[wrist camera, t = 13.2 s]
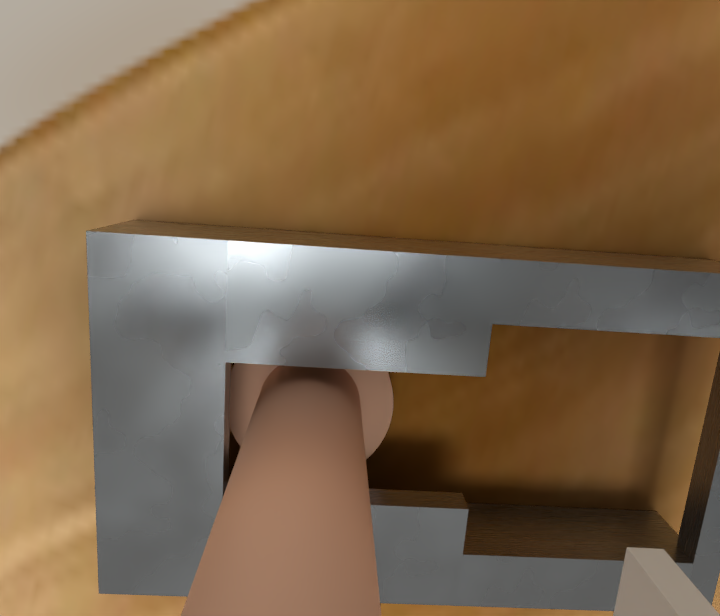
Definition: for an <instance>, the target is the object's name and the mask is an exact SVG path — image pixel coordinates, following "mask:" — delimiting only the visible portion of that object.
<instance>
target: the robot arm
mask: <svg viewBox="0 0 720 616" xmlns="http://www.w3.org/2000/svg"><path fill="white" fill-rule="evenodd" d="M613 616H720V615H719V613H718V612H717V611H716V610H715V609H714V608H713V606H712V605H711V604H710V603H709V602H708V601H707V599H706V598H705V597H704V596H703V595H702V593H701V592H700V591H699V590H698V589H697V588H696V586H695V585H694V584H693V583H692V582H691V581H690V579H689V578H688V577H687V576H686V575H685V574H684V572H683V571H682V570H681V569H680V568H679V566H678V565H677V564H676V563H675V562H674V561H673V559H672V558H671V557H670V556H669V555H668V554H667V552H666V551H665V550H664V549H654V548H633V547H627V549H626V554H625V559H624V564H623V569H622V574H621V579H620V584H619V589H618V594H617V599H616V604H615V609H614V614H613Z"/></svg>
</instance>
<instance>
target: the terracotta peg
mask: <svg viewBox="0 0 720 616" xmlns="http://www.w3.org/2000/svg"><path fill="white" fill-rule="evenodd" d="M392 413H393V390H392V385H391V381H390V377H389V373H388V371H370V370H353V369H335V368H317V367H299V366H281V365H263V364H245V363H235V365H234V367H233V369H232V371H231V390H230V429H231V431H232V433H233V435H234V437H235V439H236V441H237V442H238V444H239V445H240V450H239V453H238V456H237V459H236V462H235V464H234V467H233V470H232V473H231V476H230V479H229V481H228V484H227V487H226V490H225V493H224V495H223V498H222V501H221V504H220V507H219V510H218V512H217V515H216V518H215V521H214V524H213V526H212V529H211V532H210V535H209V538H208V541H207V543H206V546H205V549H204V552H203V555H202V558H201V560H200V563H199V566H198V569H197V572H196V574H195V577H194V580H193V583H192V586H191V589H190V591H189V594H188V597H187V600H186V603H185V605H184V608H183V611H182V614H181V616H381V607H380V597H379V587H378V577H377V567H376V557H375V547H374V537H373V526H372V516H371V506H370V496H369V486H368V476H367V466H366V459H367V458H368V457H370V456H371V455H372V454H373V453H374V451H375V450H376V449H377V448H378V447H379V445H380V444H381V442H382V440H383V439H384V437H385V435H386V433H387V431H388V429H389V425H390V422H391V419H392Z"/></svg>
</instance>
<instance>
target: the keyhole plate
mask: <svg viewBox="0 0 720 616" xmlns="http://www.w3.org/2000/svg"><path fill="white" fill-rule="evenodd" d="M86 241H87V269H88V298H89V326H90V355H91V383H92V412H93V440H94V469H95V497H96V526H97V554H98V583H99V593H100V594H130V595H159V596H188V594H189V591H190V589H191V586H192V583H193V580H194V577H195V574H196V572H197V569H198V566H199V563H200V560H201V558H202V555H203V552H204V549H205V546H206V543H207V541H208V538H209V535H210V532H211V529H212V526H213V524H214V521H215V518H216V515H217V512H218V510H219V507H220V504H221V501H222V498H223V495H224V493H225V490H226V487H227V484H228V479H229V434H230V390H231V363H245V364H263V365H281V366H299V367H317V368H335V369H353V370H370V371H388V372H406V373H424V374H442V375H460V376H478V377H486V370H487V362H488V354H489V346H490V338H491V331H492V324H500V325H516V326H533V327H549V328H565V329H582V330H598V331H615V332H631V333H647V334H664V335H680V336H697V337H713V338H720V262H719V261H714V260H710V259H698V258H684V257H669V256H654V255H640V254H625V253H611V252H596V251H581V250H567V249H552V248H538V247H523V246H508V245H494V244H479V243H464V242H450V241H435V240H421V239H406V238H391V237H377V236H362V235H348V234H333V233H318V232H304V231H289V230H275V229H260V228H245V227H231V226H216V225H201V224H187V223H172V222H158V221H143V220H132V221H128V222H123V223H119V224H114V225H110V226H106V227H101V228H97V229H93V230H88V231H86ZM369 496H370V506H371V516H372V526H373V537H374V547H375V557H376V567H377V577H378V587H379V597H380V603H393V604H423V605H452V606H481V607H511V608H540V609H569V610H599V611H614V609H615V604H616V599H617V594H618V589H619V584H620V579H621V574H622V569H623V564H624V559H625V554H626V549H627V547H633V548H654V549H664V550H665V551H666V552H667V554H668V555H669V556H670V557H671V558H672V559H673V561H674V562H675V563H676V564H677V565H678V566H679V568H680V569H681V570H682V571H683V572H684V574H685V575H686V576H687V577H688V578H689V579H690V581H691V582H692V583H693V584H694V585H695V586H696V588H697V589H698V590H699V591H700V592H701V593H702V595H703V596H704V597H705V598H706V599H707V601H708V602H709V603H710V604H711V605H712V601H713V597H714V593H715V589H716V585H717V581H718V577H719V573H720V353H719V357H718V362H717V366H716V371H715V375H714V379H713V384H712V388H711V393H710V397H709V402H708V406H707V411H706V415H705V420H704V424H703V429H702V433H701V438H700V442H699V447H698V451H697V456H696V460H695V465H694V469H693V474H692V478H691V483H690V487H689V492H688V496H687V501H686V505H685V510H684V514H683V519H682V523H681V528H680V532H679V535H678V534H677V533H676V532H675V531H674V530H673V529H672V528H671V527H670V525H669V524H668V523H667V522H666V521H665V520H664V519H663V518H662V517H661V516H660V515H659V514H658V513H657V512H656V511H643V510H621V509H598V508H575V507H552V506H529V505H507V504H484V503H466V501H465V499H464V496H463V494H462V493H455V492H433V491H411V490H388V489H369Z"/></svg>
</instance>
